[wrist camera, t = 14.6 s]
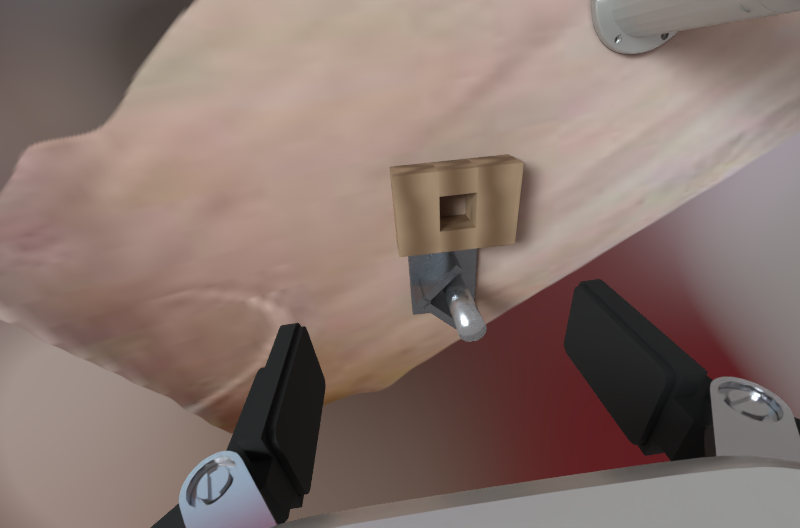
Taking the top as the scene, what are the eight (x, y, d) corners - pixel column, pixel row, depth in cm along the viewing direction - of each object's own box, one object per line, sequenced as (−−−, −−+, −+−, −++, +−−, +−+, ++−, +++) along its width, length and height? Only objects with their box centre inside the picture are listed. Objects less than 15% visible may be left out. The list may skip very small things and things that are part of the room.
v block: (472, 303, 55) (483, 326, 49) (412, 310, 54) (417, 335, 49) (475, 241, 49) (488, 260, 43) (407, 249, 48) (412, 269, 43)
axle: (462, 269, 50) (487, 318, 39) (461, 287, 52) (485, 339, 41) (439, 271, 50) (458, 321, 39) (440, 290, 51) (458, 343, 41)
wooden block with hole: (508, 154, 42) (523, 162, 38) (501, 229, 48) (514, 243, 44) (389, 166, 42) (392, 176, 38) (396, 241, 47) (399, 257, 43)
